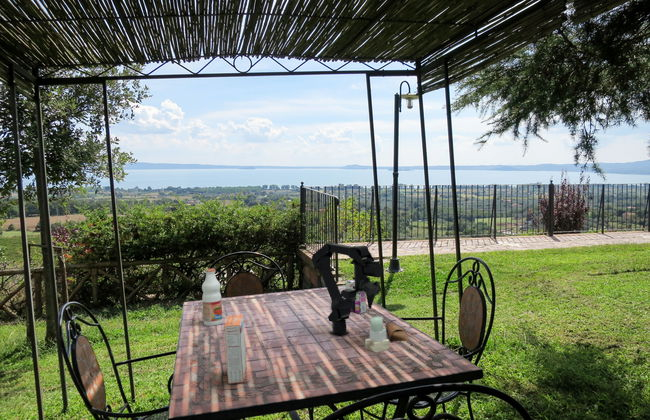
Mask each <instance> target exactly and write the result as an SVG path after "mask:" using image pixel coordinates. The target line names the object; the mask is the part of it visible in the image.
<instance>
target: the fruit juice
mask: <svg viewBox="0 0 650 420" xmlns="http://www.w3.org/2000/svg"><path fill="white" fill-rule="evenodd" d="M201 290H202V292H203V293H202V296H201V297H202V299H201V301H202V314H203V315H202V316H203V317H202V318H203V325H204V326H207V327H213V326H219V325H221V324H222V323H223V305H222V304H223V303H222V301H223V300H222V294H221V283H220V281H219V280H218V278H217V277H216V268H213V267H212V268H205V279H204V282H203V283H202V285H201Z"/></svg>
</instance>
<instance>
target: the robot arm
mask: <svg viewBox="0 0 650 420" xmlns="http://www.w3.org/2000/svg"><path fill="white" fill-rule="evenodd" d="M334 254H339V255H345V256H347V257H348V258H349V259H352V260H351V261H350V263H349V264H350V265H353V273H354V276H352V280H354V281H355V286H353V289H355V290H351V289H346V288H345V289H341V291H340V289H339V287H338V284H337V281H336V279H335V276H334V274H333V271H332V269H331V265H332V260H331V258H332V256H334ZM311 262H312V264H313V266H314V268H315V269H317V270H318V271H319V272H320V274H321V277H322V279H323V282H324V285H325V288H326V290H327V291H328V295H329V297H330V299H331V304H330V310H331V312H330V314H329V315H328V316H327V318H328V322H331V326H332V331H330V332H329V334H332V335H333V336H337V337H340V336H343V335H347V334H349V333H350V331H349V330H348V329H347V320H348V319H349V318H350V316H351V313H354V314H356V313H355V300H356V299H357V298H355V297H356V294H359V293H364V292H366V303H367V306H368V307H367V308H368V309H369V310H370V309H372V307H373V303H374V300H375V297H376V296H378V295H379V294H380V293H382V286H381V282H380V281H371V278H376V279H377V278H378V279H379V278H381V277H382V276H383V275H384V274H383V273H384V268H383V265H382V264H381V261H380V260H375V259H374V256H373V255H372V254H371V252H370V250H369V248H368V246H367V245H354V246H353V245H352V246H351V245H346V244H340V243H335V242H333V241H332V242H327V243H325V244H323V246H322V247H321V248H319V249H318V250H317V251H315V252H314V253H312V256H311ZM370 277H371V278H370ZM358 291H359V292H358ZM351 310H352V312H351ZM347 330H348V331H347Z"/></svg>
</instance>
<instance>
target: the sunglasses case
mask: <svg viewBox="0 0 650 420" xmlns="http://www.w3.org/2000/svg"><path fill="white" fill-rule="evenodd" d="M385 329H386V333H387V335H388V337H389V341H391V342H406V341H407V342H409V341H410V340H409V337H408V335H407V333H406V331H405V328H404V327H403V326H399V325H397V324H395V323H393V322H387V323H386V325H385Z"/></svg>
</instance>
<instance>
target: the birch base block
mask: <svg viewBox="0 0 650 420" xmlns="http://www.w3.org/2000/svg"><path fill="white" fill-rule="evenodd" d="M364 340H365V341H364V342H365V346H364V347H365V349H367V350H369V351H371V352H374V353H379V352H383V351H387V350H390V348H391V347H390V339H388V338H386V339H385V340H384V341H382V342H376V341H370V337H369V338H365V339H364Z"/></svg>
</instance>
